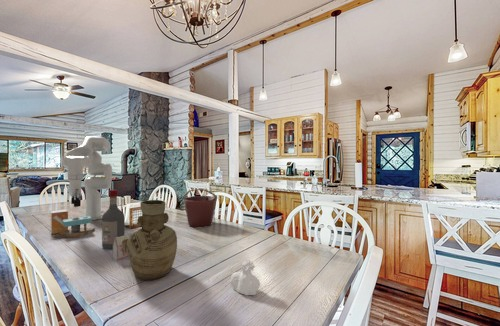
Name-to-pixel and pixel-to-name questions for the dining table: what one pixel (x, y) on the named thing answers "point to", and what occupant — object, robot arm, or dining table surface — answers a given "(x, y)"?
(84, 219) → the keyed plate
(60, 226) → the small box
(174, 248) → the ceramic vessel
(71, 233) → the post base
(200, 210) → the bucket
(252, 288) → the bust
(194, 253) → the dining table surface
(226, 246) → the dining table surface
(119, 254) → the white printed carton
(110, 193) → the liquor
